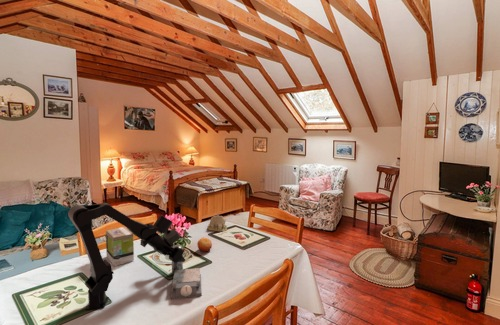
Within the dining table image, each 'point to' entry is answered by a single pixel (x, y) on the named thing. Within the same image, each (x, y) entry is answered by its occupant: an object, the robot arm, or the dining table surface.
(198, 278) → the pan
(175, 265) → the cylinder
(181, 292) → the scale
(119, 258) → the tea box
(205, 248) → the fruit
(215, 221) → the ceramic model
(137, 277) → the dining table surface
